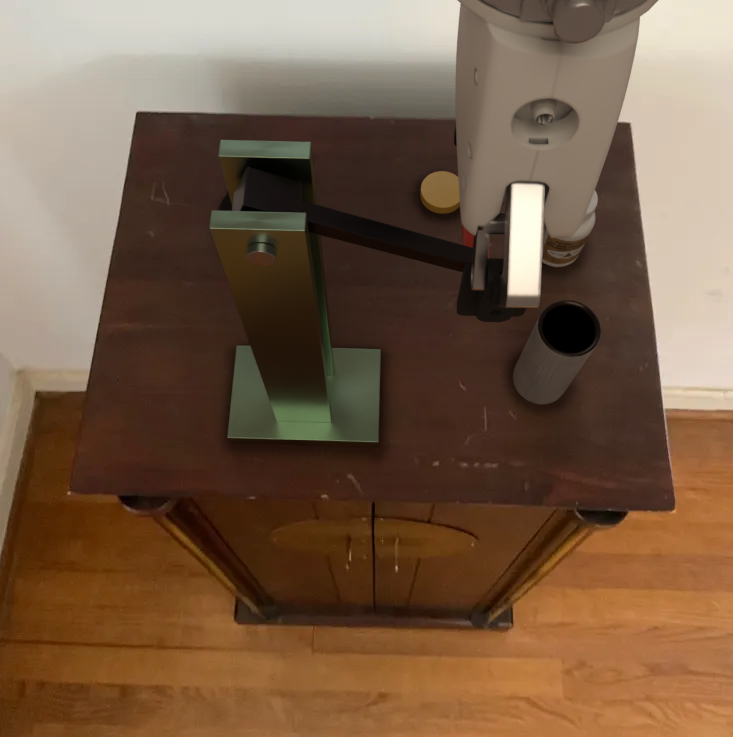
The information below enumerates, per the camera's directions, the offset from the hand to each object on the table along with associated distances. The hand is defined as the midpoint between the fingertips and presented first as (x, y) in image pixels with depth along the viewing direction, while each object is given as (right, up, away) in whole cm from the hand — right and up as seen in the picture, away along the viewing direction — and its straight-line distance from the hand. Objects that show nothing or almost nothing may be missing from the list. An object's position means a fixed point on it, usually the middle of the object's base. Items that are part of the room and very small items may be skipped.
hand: (486, 223), depth 39 cm
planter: (+8, -8, +26) cm, 28 cm away
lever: (-6, -1, +2) cm, 7 cm away
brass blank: (+1, +9, +33) cm, 34 cm away
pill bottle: (+11, +4, +31) cm, 33 cm away
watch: (-16, +7, +32) cm, 37 cm away
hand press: (-11, -10, +25) cm, 29 cm away
